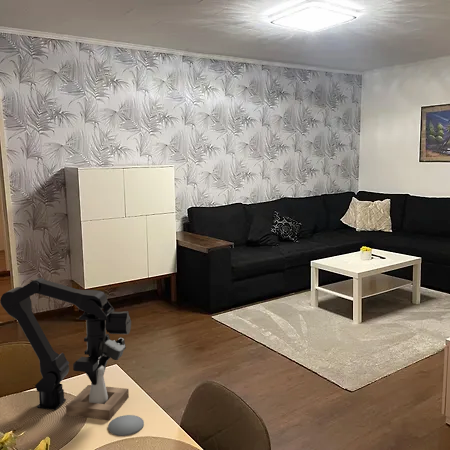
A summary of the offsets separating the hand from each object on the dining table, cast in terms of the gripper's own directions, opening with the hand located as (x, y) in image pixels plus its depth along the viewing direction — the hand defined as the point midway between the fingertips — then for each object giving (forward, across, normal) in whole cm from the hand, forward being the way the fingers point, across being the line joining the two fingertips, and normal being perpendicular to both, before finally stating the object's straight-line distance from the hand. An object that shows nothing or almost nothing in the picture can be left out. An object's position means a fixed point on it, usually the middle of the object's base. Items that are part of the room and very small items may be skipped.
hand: (97, 381), depth 145 cm
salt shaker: (+8, 0, 0) cm, 8 cm away
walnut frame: (+8, 0, 0) cm, 8 cm away
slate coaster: (+8, -9, -13) cm, 18 cm away
